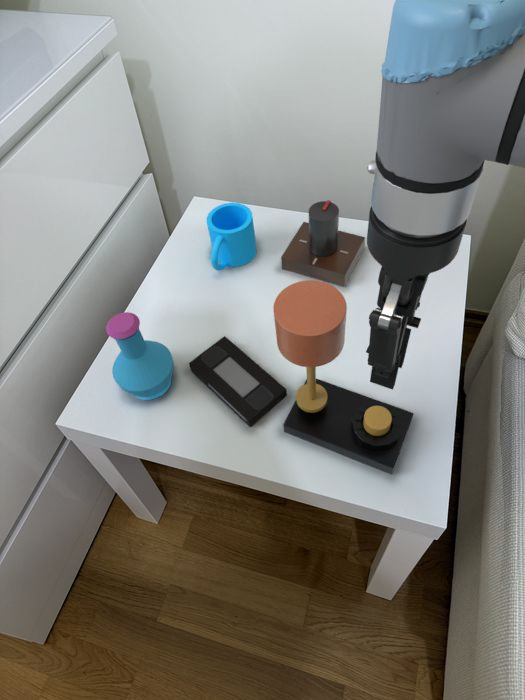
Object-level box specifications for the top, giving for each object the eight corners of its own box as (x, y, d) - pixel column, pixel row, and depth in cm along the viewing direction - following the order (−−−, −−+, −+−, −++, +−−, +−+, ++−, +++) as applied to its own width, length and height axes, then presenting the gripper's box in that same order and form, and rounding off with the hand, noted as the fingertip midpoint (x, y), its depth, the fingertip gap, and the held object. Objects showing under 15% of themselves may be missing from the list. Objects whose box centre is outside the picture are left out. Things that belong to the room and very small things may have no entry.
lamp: (348, 386, 73) (357, 291, 57) (327, 432, 69) (330, 345, 53) (297, 368, 76) (291, 272, 60) (274, 412, 72) (261, 322, 56)
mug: (225, 233, 101) (218, 199, 94) (263, 242, 98) (259, 207, 92) (197, 276, 94) (188, 242, 88) (237, 286, 92) (231, 252, 85)
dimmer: (331, 259, 90) (332, 222, 83) (304, 252, 91) (303, 215, 84) (341, 241, 92) (343, 203, 85) (315, 234, 94) (315, 196, 87)
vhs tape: (250, 427, 75) (248, 421, 74) (190, 370, 82) (188, 363, 81) (287, 396, 78) (286, 389, 76) (226, 343, 85) (224, 335, 83)
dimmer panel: (364, 249, 95) (365, 236, 92) (344, 287, 90) (345, 274, 87) (303, 233, 98) (303, 220, 96) (281, 269, 94) (280, 256, 91)
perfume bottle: (131, 356, 85) (100, 295, 73) (185, 359, 84) (162, 298, 71) (114, 404, 80) (77, 348, 68) (171, 409, 78) (144, 352, 66)
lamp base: (411, 420, 74) (415, 406, 71) (391, 475, 69) (395, 463, 66) (308, 383, 79) (308, 368, 76) (283, 431, 74) (282, 418, 71)
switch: (393, 418, 70) (395, 410, 69) (385, 440, 68) (386, 433, 67) (368, 409, 71) (369, 401, 70) (359, 430, 70) (360, 423, 68)
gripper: (401, 145, 46) (377, 315, 65) (337, 262, 38) (331, 415, 57) (489, 161, 43) (437, 333, 62) (439, 290, 36) (397, 440, 55)
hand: (386, 372), depth 60 cm, fingers open, 2 cm apart
